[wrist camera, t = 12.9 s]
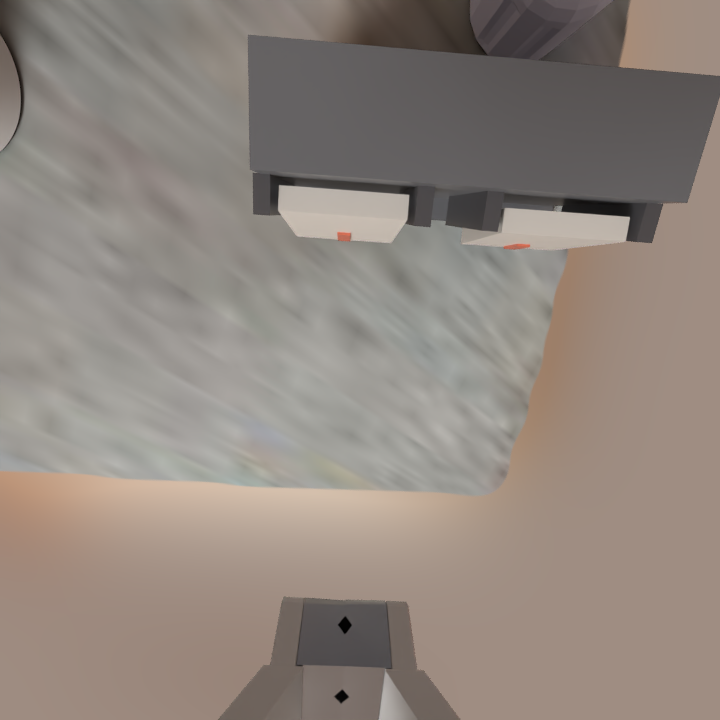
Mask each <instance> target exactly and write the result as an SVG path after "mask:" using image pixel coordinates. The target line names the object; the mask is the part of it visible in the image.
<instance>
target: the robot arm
mask: <svg viewBox="0 0 720 720" xmlns="http://www.w3.org/2000/svg"><path fill="white" fill-rule="evenodd" d="M20 107H21V93H20V84H19V79H18V74H17V71H16V67H15V64H14V61H13V59H12V56H11V54H10V52H9V49H8V47H7V45H6V44H5V42H4V40H3V38H2V37H1V35H0V151H1V150H3V148H4V147H5V146H6V145H7V144H8V142H9V141H10V139H11V138H12V136H13V134H14V132H15V129H16V127H17V124H18V120H19V115H20ZM218 720H460V718H459V717H458V716H457V715H456V713H455V712H454V710H453V709H452V708H451V706H450V705H449V704H448V702H447V701H446V700H445V698H444V697H443V696H442V694H441V693H440V692H439V690H438V689H437V688H436V686H435V685H434V684H433V682H432V681H431V680H430V678H429V677H428V676H427V674H426V673H425V672H424V671H423V670H417V664H416V657H415V651H414V643H413V636H412V629H411V623H410V615H409V609H408V605H407V603H406V602H396V601H386V602H385V601H376V600H330V599H316V598H298V597H284V598H283V600H282V603H281V609H280V614H279V619H278V625H277V630H276V636H275V641H274V647H273V653H272V658H271V663H270V665H264V666H263V667H262V668H261V669H260V670H259V671H258V672H257V674H256V675H255V676H254V677H253V679H252V680H251V681H250V682H249V683H248V684H247V686H246V687H245V688H244V689H243V690H242V691H241V693H240V694H239V695H238V696H237V697H236V699H235V700H234V701H233V702H232V703H231V705H230V706H229V707H228V708H227V709H226V711H225V712H224V713H223V714H222V716H221V717H220V718H219V719H218Z"/></svg>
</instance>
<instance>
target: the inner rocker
mask: <svg viewBox="0 0 720 720" xmlns="http://www.w3.org/2000/svg"><path fill="white" fill-rule="evenodd" d="M408 206H409V195H405V194H391V193H378V192H365V191H351V190H338V189H324V188H311V187H298V186H284V185H279V197H278V211H279V213H280V214H281V215H282V217H283V218H284V219H285V221H286V222H287V223H288V225H289V226H290V227H291V229H292V230H293V231H294V233H295V234H296V235H297V236H298V237H312V238H326V239H338V241H350V240H355V241H369V242H383V243H392V241H393V240H394V238H395V237H396V235H397V234H398V233H399V231H400V230H401V228H402V227H403V226H404V224H405V223H406V221H407V219H408Z"/></svg>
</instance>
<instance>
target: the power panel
mask: <svg viewBox="0 0 720 720" xmlns="http://www.w3.org/2000/svg"><path fill="white" fill-rule="evenodd" d="M248 76H249V140H250V170H252V171H255V172H257V173H253V214H257V215H281V214H280V213H279V211H278V197H279V185H284V186H298V187H311V188H324V189H338V190H351V191H365V192H378V193H391V194H405V195H409V206H408V219H407V221H406V223H405V224H409V225H413V226H423V227H430V226H431V220H442V221H446V224H445V225H449V226H455V227H461V228H468V229H474V230H480V231H493V232H498V228H499V222H500V216H501V210H502V209H503V208H515V209H529V210H542V211H553V207H554V206H563V207H562V211H561V212H569V213H583V214H596V215H609V216H623V217H630V221H629V226H628V232H627V237H626V241H633V242H645V243H652V241H653V238H654V234H655V230H656V227H657V224H658V220H659V217H660V213H661V210H662V206H663V204H658V203H687V202H688V199H689V196H690V192H691V189H692V186H693V182H694V179H695V176H696V172H697V169H698V166H699V163H700V159H701V156H702V153H703V150H704V146H705V143H706V140H707V136H708V133H709V130H710V127H711V123H712V120H713V117H714V114H715V110H716V107H717V104H718V100H719V97H720V76H713V75H700V74H690V73H678V72H667V71H654V70H644V69H633V68H621V67H610V66H599V65H587V64H576V63H564V62H553V61H542V60H530V59H519V58H507V57H496V56H485V55H473V54H462V53H450V52H439V51H427V50H416V49H405V48H393V47H382V46H370V45H359V44H348V43H336V42H325V41H313V40H302V39H291V38H279V37H268V36H256V35H248Z"/></svg>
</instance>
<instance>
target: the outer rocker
mask: <svg viewBox="0 0 720 720" xmlns="http://www.w3.org/2000/svg"><path fill="white" fill-rule="evenodd" d="M629 221H630V217H623V216H609V215H596V214H583V213H569V212H556V211H542V210H529V209H515V208H503V209H502V210H501V216H500V222H499V228H498V232H493V231H480V230H474V229H468V228H462V237H461V244H469V245H483V246H497V247H504V249H522V248H526V249H540V250H560V249H568V248H576V247H584V246H593V245H602V244H610V243H619V242H625V241H626V237H627V232H628V226H629Z"/></svg>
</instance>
